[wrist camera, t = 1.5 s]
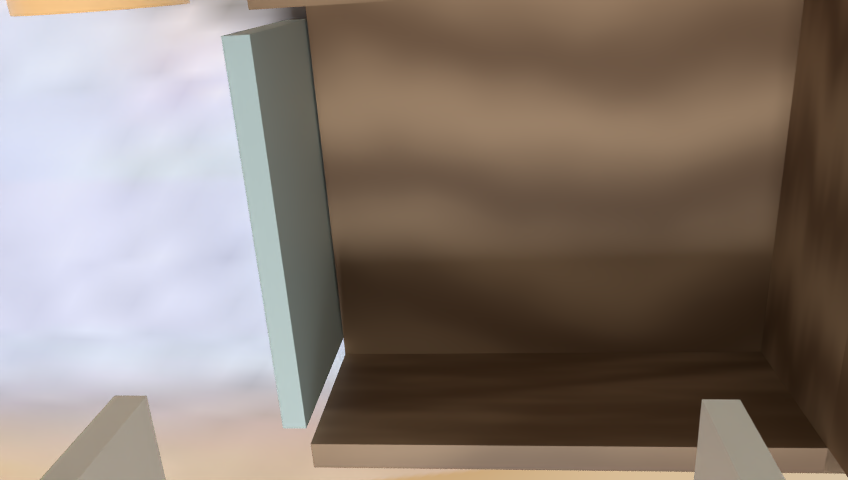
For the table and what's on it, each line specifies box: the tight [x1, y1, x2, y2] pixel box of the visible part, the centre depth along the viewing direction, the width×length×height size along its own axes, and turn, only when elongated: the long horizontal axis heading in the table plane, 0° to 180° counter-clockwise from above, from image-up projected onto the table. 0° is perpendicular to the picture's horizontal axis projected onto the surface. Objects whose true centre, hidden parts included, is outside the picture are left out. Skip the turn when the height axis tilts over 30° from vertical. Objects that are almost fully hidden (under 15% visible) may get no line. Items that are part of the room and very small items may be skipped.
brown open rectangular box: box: [247, 0, 848, 477], centre depth 28 cm, size 20×22×12 cm
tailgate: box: [221, 19, 344, 428], centre depth 31 cm, size 16×1×8 cm, turn 4°
